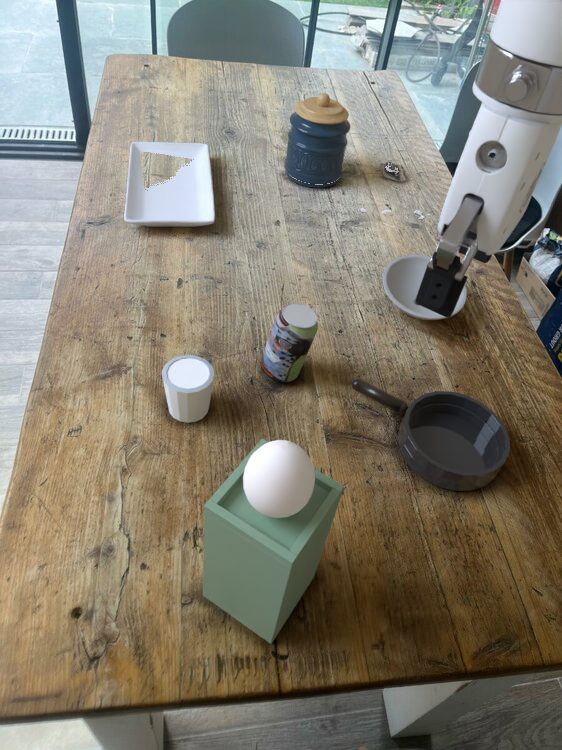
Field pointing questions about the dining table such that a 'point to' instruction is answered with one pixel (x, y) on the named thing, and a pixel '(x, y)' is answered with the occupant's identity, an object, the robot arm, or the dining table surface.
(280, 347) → the beverage can
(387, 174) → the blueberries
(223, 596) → the stand
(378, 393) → the pan handle
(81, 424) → the dining table surface
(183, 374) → the white cylinder
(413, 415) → the pan
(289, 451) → the egg
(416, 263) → the dish
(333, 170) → the canister
